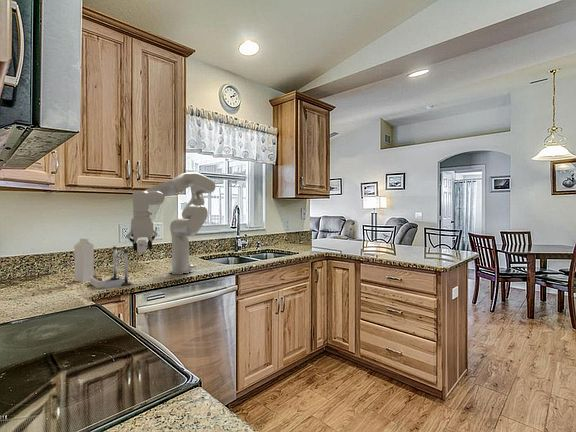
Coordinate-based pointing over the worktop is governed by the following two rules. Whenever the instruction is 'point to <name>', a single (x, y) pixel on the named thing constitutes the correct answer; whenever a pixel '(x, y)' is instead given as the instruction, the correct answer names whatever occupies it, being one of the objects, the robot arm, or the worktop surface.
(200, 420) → the worktop surface
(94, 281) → the mat
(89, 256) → the milk
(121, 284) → the cord post
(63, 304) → the worktop surface
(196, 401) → the worktop surface
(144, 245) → the power adapter
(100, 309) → the worktop surface
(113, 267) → the cord post
